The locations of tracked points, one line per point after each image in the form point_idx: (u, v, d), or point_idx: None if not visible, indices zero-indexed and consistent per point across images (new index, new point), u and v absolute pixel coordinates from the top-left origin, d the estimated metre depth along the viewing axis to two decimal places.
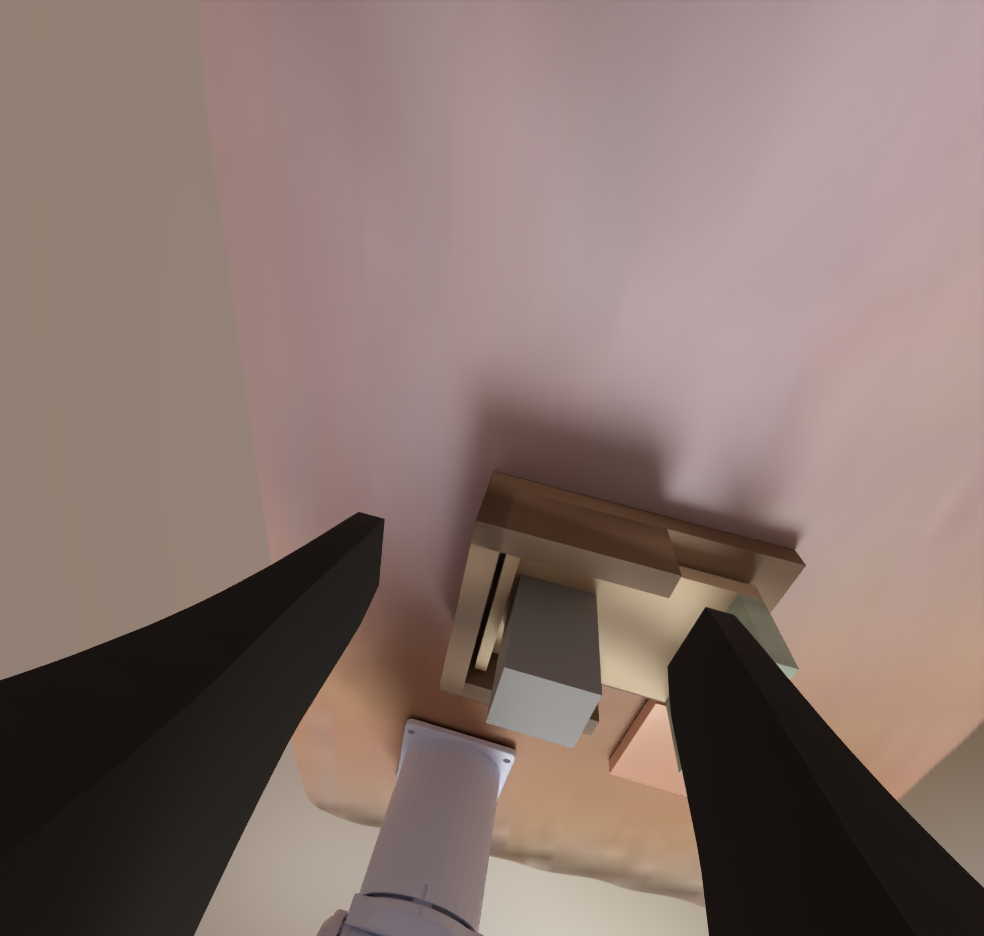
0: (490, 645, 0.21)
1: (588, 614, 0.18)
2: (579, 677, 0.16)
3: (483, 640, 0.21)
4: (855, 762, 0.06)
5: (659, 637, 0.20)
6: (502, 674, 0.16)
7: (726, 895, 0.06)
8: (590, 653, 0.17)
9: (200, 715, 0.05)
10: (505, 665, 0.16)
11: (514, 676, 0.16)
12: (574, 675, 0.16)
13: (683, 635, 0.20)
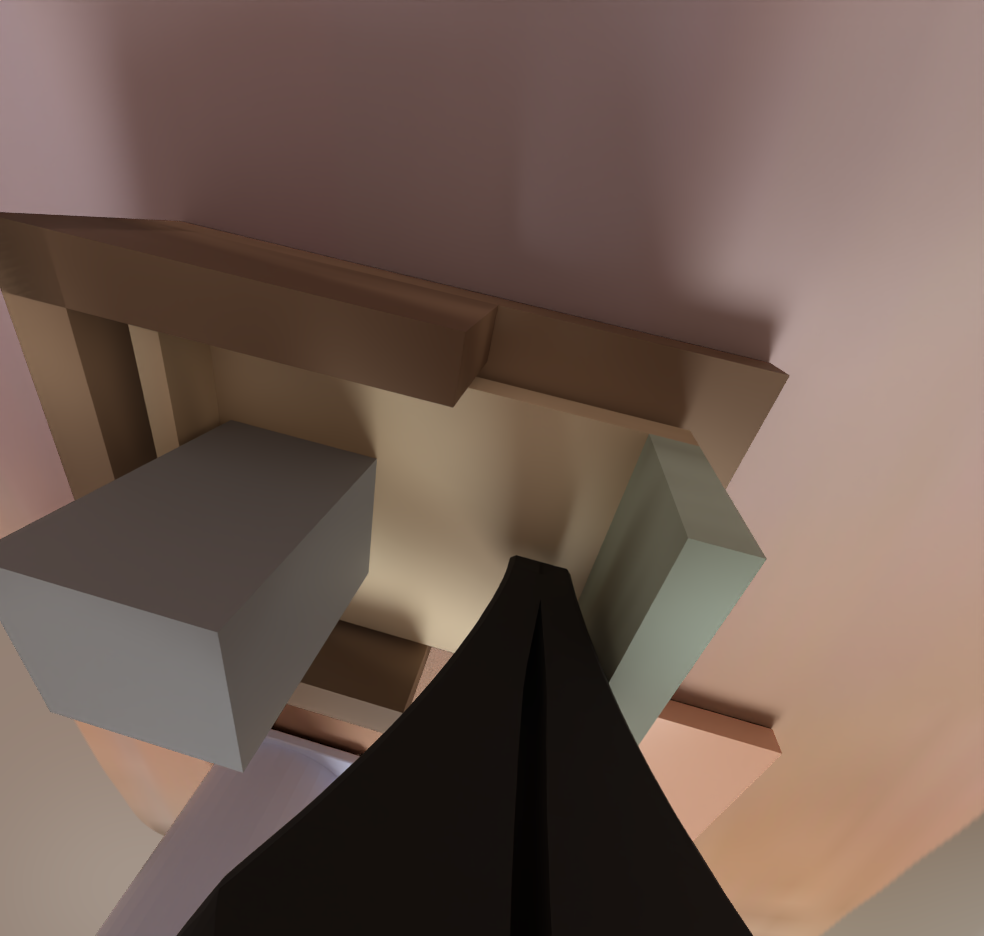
0: None
1: (330, 483, 0.09)
2: (188, 589, 0.06)
3: None
4: (611, 691, 0.06)
5: (510, 549, 0.10)
6: None
7: None
8: (271, 544, 0.07)
9: None
10: None
11: (5, 585, 0.06)
12: (177, 584, 0.06)
13: (553, 543, 0.10)
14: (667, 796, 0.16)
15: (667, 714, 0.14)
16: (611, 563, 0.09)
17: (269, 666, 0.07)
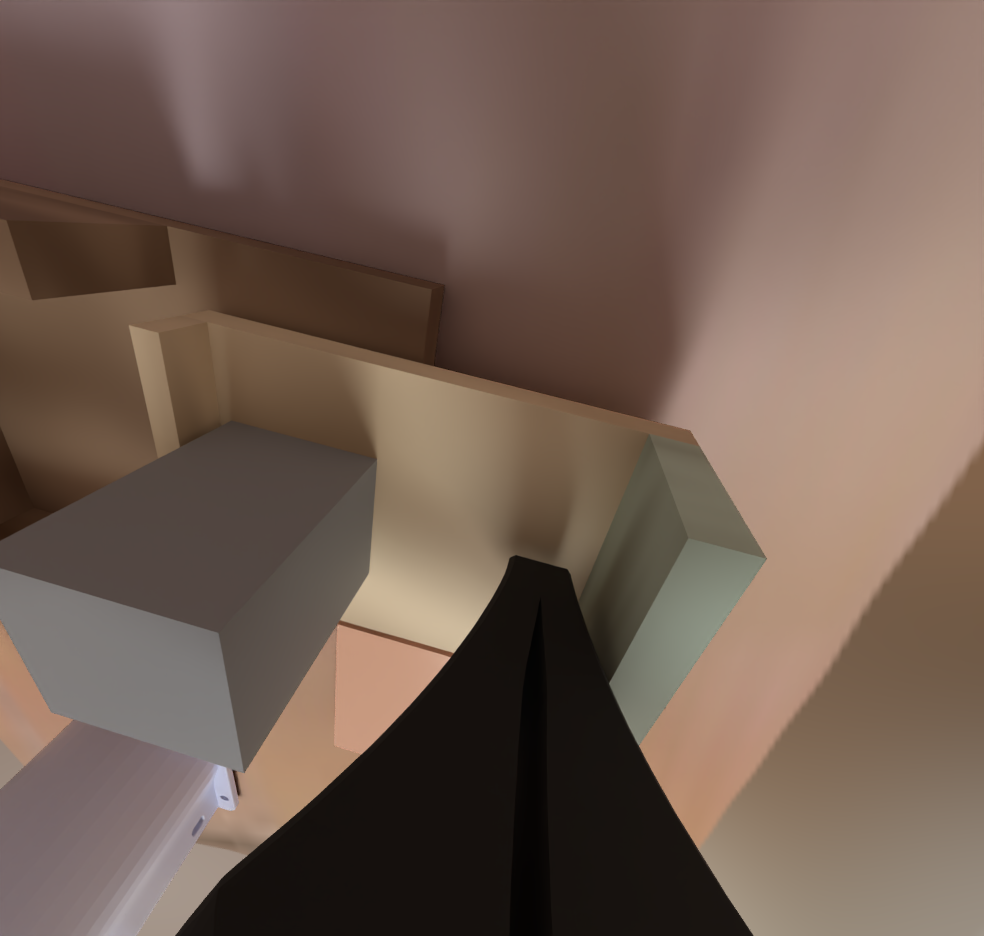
0: None
1: (331, 483, 0.09)
2: (189, 589, 0.06)
3: None
4: (611, 691, 0.06)
5: (511, 549, 0.10)
6: None
7: None
8: (271, 544, 0.07)
9: None
10: None
11: (5, 586, 0.06)
12: (178, 584, 0.06)
13: (554, 543, 0.10)
14: None
15: None
16: (611, 563, 0.09)
17: (270, 666, 0.07)
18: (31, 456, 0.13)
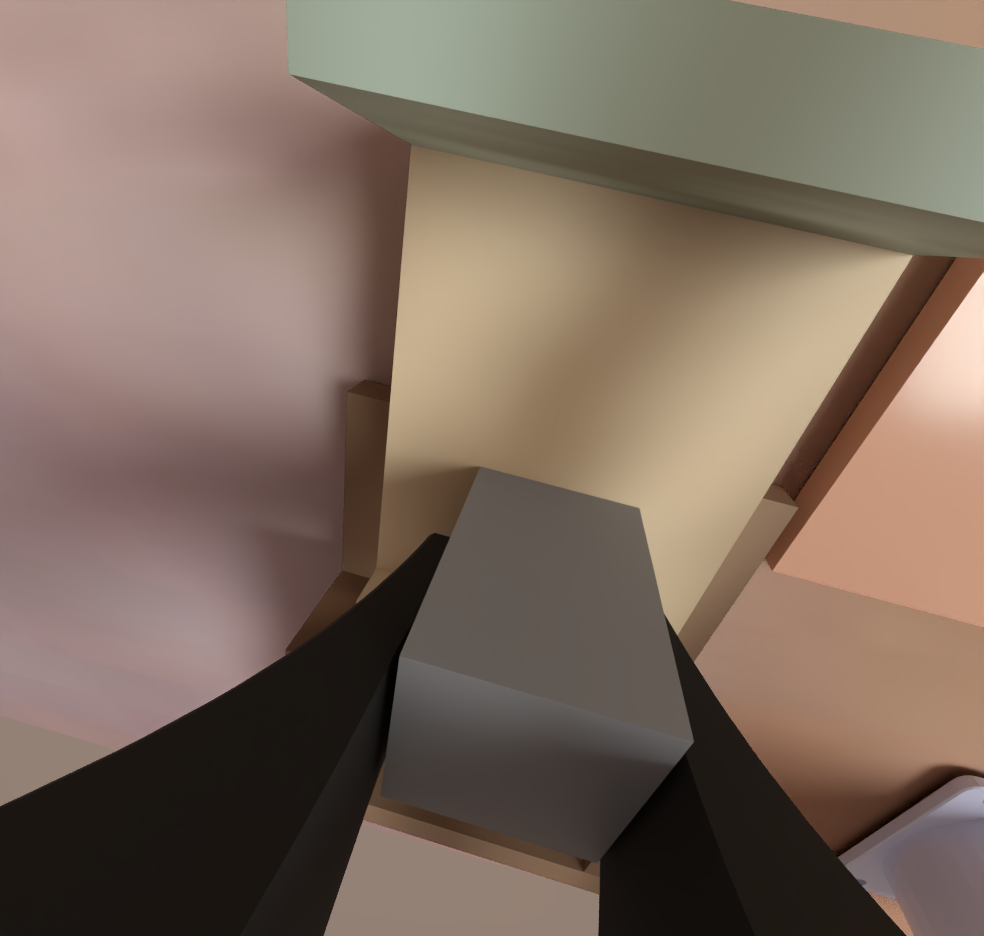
0: None
1: None
2: None
3: None
4: (733, 726, 0.06)
5: (597, 321, 0.08)
6: (408, 801, 0.07)
7: (614, 860, 0.07)
8: None
9: (346, 761, 0.05)
10: None
11: (403, 789, 0.07)
12: None
13: (583, 259, 0.07)
14: None
15: (872, 417, 0.09)
16: (555, 166, 0.06)
17: (556, 640, 0.06)
18: None
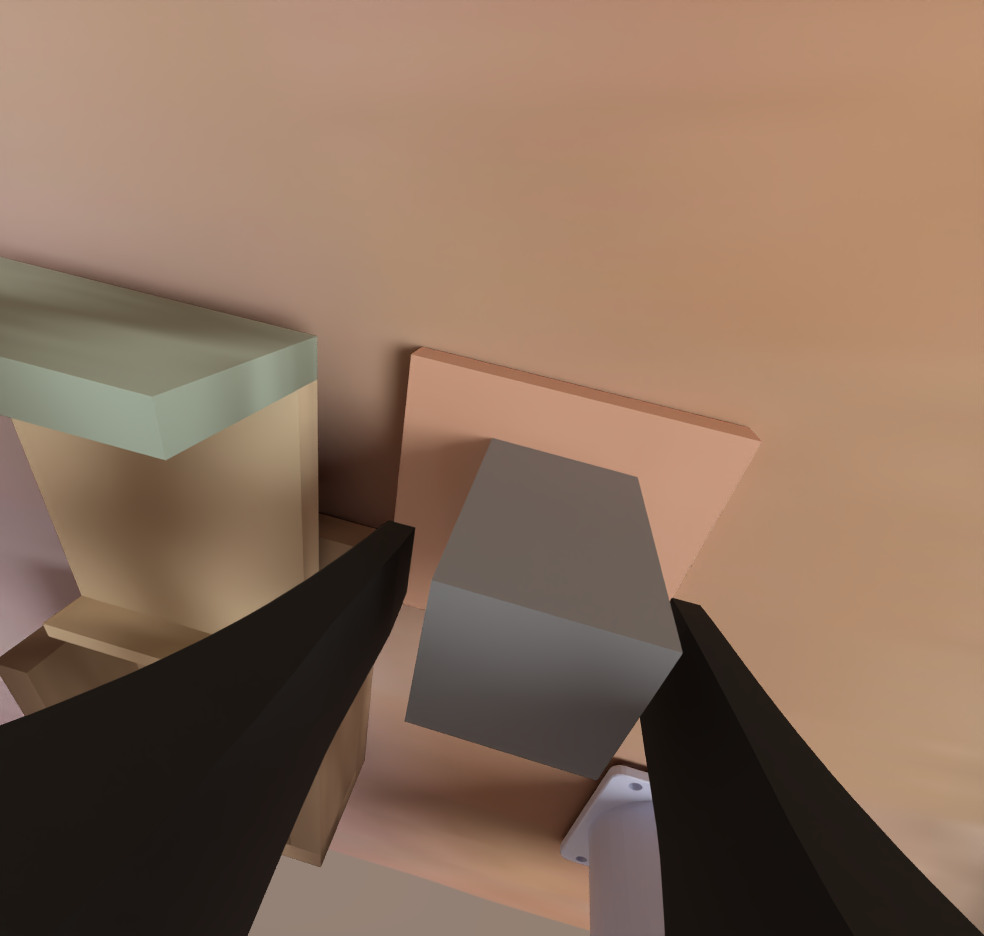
0: None
1: None
2: None
3: None
4: (805, 747, 0.06)
5: None
6: (429, 726, 0.08)
7: (680, 881, 0.07)
8: None
9: (259, 734, 0.05)
10: None
11: (425, 712, 0.08)
12: None
13: None
14: None
15: (399, 485, 0.12)
16: None
17: (564, 575, 0.07)
18: None
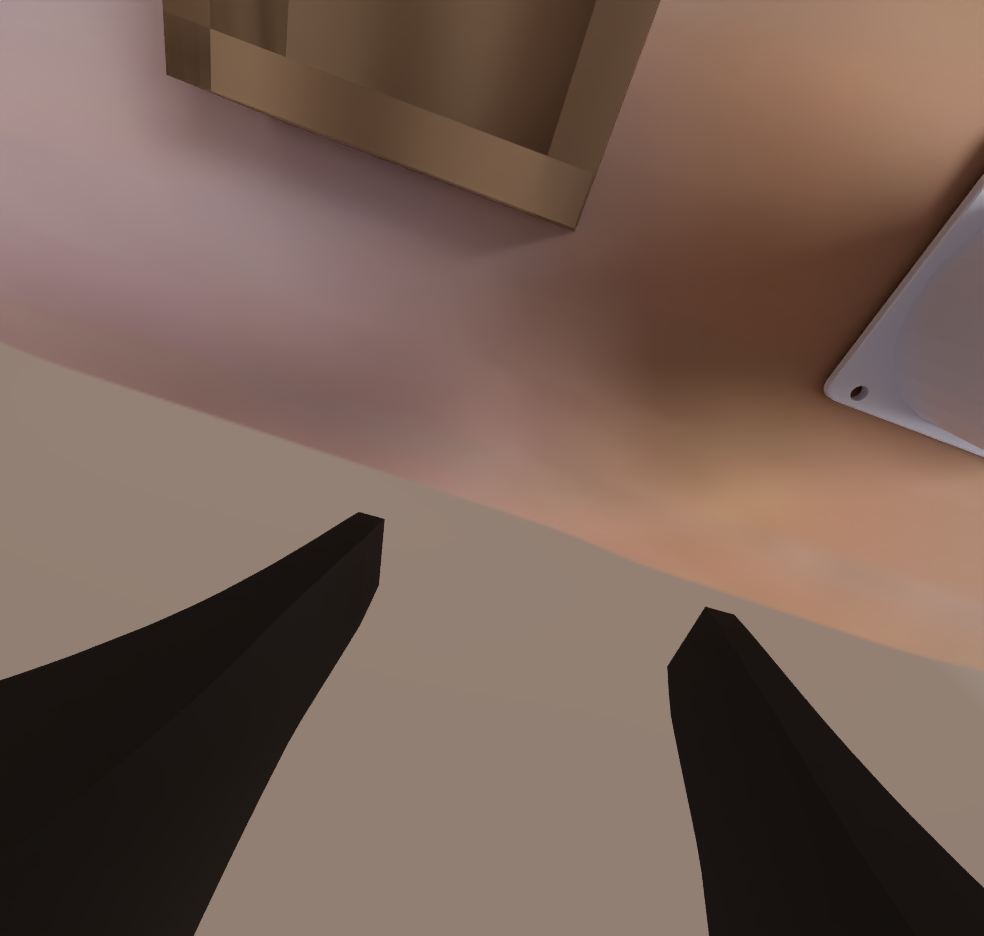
0: None
1: None
2: None
3: None
4: (855, 762, 0.06)
5: None
6: None
7: (726, 895, 0.06)
8: None
9: (200, 715, 0.05)
10: None
11: None
12: None
13: None
14: None
15: None
16: None
17: None
18: (491, 117, 0.12)
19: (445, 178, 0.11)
